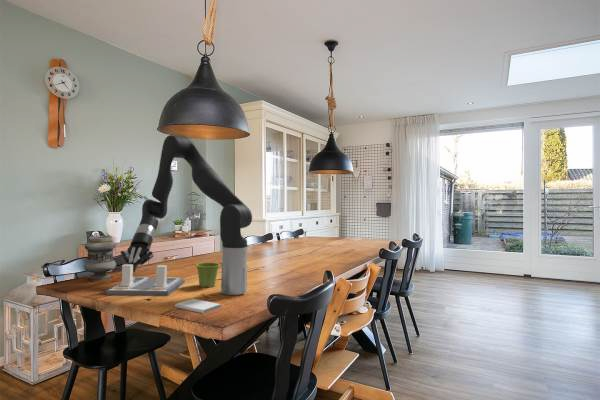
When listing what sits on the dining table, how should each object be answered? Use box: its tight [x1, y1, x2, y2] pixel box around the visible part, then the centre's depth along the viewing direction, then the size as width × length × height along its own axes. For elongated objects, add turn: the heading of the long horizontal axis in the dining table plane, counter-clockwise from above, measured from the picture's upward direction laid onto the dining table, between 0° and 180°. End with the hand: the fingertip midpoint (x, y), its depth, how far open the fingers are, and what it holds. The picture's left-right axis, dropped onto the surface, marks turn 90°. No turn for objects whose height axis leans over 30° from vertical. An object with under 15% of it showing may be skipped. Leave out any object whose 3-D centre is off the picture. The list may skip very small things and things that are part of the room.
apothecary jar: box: [83, 235, 117, 282], centre depth 155 cm, size 12×12×18 cm
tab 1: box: [119, 264, 134, 286], centre depth 136 cm, size 3×4×8 cm
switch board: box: [105, 276, 186, 296], centre depth 140 cm, size 22×21×2 cm
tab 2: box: [155, 264, 168, 288], centre depth 135 cm, size 3×4×8 cm
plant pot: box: [195, 262, 221, 288], centre depth 146 cm, size 9×9×9 cm
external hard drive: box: [174, 298, 222, 314], centre depth 117 cm, size 2×8×12 cm
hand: (129, 272), depth 138 cm, fingers closed
